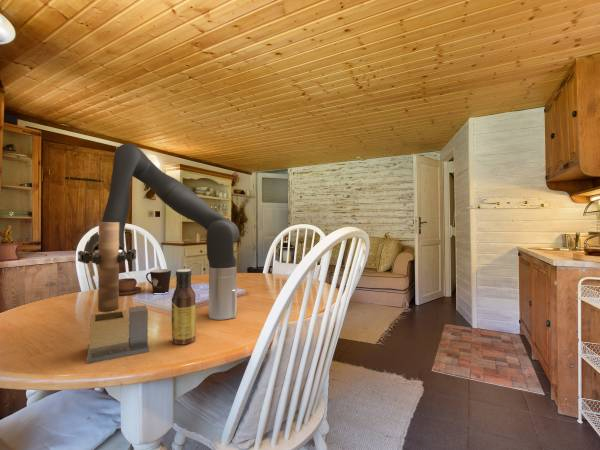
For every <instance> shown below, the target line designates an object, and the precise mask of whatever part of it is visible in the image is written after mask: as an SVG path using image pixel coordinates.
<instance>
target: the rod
mask: <svg viewBox="0 0 600 450" xmlns="http://www.w3.org/2000/svg"><path fill="white" fill-rule="evenodd" d="M98 235H99V264H97V266H98V269H97V271H98V280H97V281H98V282H97V283H98V288H97V291H98V292H97V295H98V297H97V298H98V299H97V304H98V305H97V312H99V313H106V312H114V311H119V307H120V306H119V303H120V302H119V301H120V299H119V296H120V295H119V279H120V275H119V274H120V263H119V222H101V221H99V222H98Z"/></svg>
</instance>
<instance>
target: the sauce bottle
mask: <svg viewBox="0 0 600 450" xmlns="http://www.w3.org/2000/svg"><path fill="white" fill-rule="evenodd" d="M191 276H192V269H190V268H181V269H177V270H175V277H176V279H175V281H176V284H175V289H174V292H173V294H172V298H171V337H172V342H173V344H175V345H188V344H191V343H192V342H194V341H196V334H197V311H196V310H197V304H196V292H195V290H194V289H193V288H192V283H191V282H192V281H191V280H192V277H191Z"/></svg>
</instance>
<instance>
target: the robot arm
mask: <svg viewBox="0 0 600 450" xmlns="http://www.w3.org/2000/svg"><path fill="white" fill-rule="evenodd" d="M112 162H113V163H112V171H111V172H112V173H111V181H110V185H109V191H108V196H107V202H106V204H105V207H104V212H103V215H102V218H101V221H100V222H119V264H123V263H125V262H126V261H127V262H132V261H134V260H137V249H135V248H133V249H129V250H128V251H126V250H125V228H126V223H127V220H128V216H129V213H130V209H131V208H130V207H131V206H130V205H131V197H130V196H131V195H130V194H131V190H130V189H131V181H132V177H133V178H134V179H136V180H138V181H140V182H141V183H143V184H144V185H145V186H147V187H148V188H149V189H150V190H151V191H153V193H154V194H155V195H156V197H157V198H159V199H160V201H161V202H162V203H164V204H165V205H166V206H168V207H169V208H170V209H172V210H173V211H175V213H177V214H179V215H180V216H182V217H184V218H186V219H189V220H190V221H192V222H194V223H196V224H198V225H199V226H201V227H203V228H204V230H206V258H207V261H208V318H210V319H211V320H219V321H221V320H228V319H235V318H236V316H237V312H238V311H237V304H238V303H237V301H238V300H237V298H238V295H237V293H238V288H237V258H236V255H235V252H234V248H235V247H234V244H235V243H237V241H238V240H239V238H240V229H239V228H238V226H237V224H236V223H235V222H233V221H232V220H230V219H229V218H227V217H225V216H224V215H222V214H220V213H219V212H217V211H216V210H214V208H212V207H211V206H210V205H208V203H206V202H205V201H204V200H203V199H202V198H201V197H199V195H197V194H196V193H195V192H193V190H191V188H189V187H188V186H186V185H185V184H184V183H182V182H181V181H179V180H178V179H177V178H176V177H175V178H174V177H173V176H171V175H169V174H167V173H165V172H164V171H162V170H161V169H160V168H159V167H158V166H157V165H156V164H154V163H153V162H152V160H151V159H150V158H149V157H148V155H146V154H145V153H144V152H143V151H142V150H141V148H140V147H138V146H137V145H135V144H133V143H127V142H126V143H123V144H121V145H119V146H118V147H117V148H116V149H115V151H114V155H113V161H112ZM86 248H87V251H83V250H79V251H77V261H78V262H80V263H82V264H89V263H90V262H91V263H92V264H95V265H97V266H98V264H99V234H95V235H93V236H91V237H90V238H89V241H88V243H87V247H86Z"/></svg>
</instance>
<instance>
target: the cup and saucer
mask: <svg viewBox="0 0 600 450" xmlns="http://www.w3.org/2000/svg"><path fill="white" fill-rule="evenodd" d="M137 283H138V282H137V279H136V278H133V277H132V278H130V277H129V278H119V296H128V295H133V294H137V293H140V291H141V290H142V287H140V286H137Z"/></svg>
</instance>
